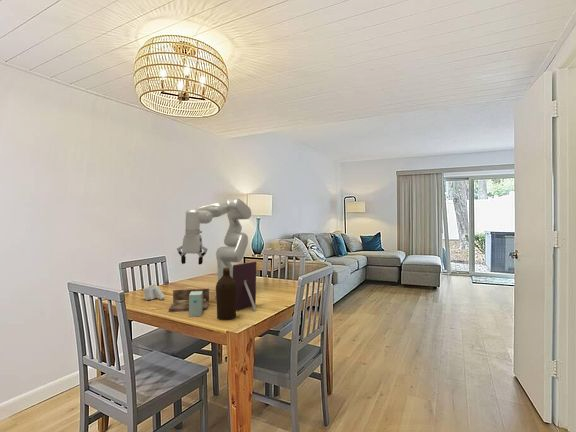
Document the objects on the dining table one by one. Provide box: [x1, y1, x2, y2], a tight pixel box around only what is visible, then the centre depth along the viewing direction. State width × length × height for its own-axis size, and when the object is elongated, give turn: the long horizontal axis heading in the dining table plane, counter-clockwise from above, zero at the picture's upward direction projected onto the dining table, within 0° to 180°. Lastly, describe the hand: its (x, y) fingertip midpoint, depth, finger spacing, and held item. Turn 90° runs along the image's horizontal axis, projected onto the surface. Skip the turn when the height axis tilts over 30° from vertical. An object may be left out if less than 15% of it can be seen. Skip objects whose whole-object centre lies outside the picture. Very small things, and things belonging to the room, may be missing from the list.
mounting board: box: [168, 288, 210, 313], centre depth 180 cm, size 20×14×8 cm
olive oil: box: [215, 267, 237, 321], centre depth 163 cm, size 11×11×25 cm
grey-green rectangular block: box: [188, 291, 204, 317], centre depth 168 cm, size 6×9×11 cm
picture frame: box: [232, 261, 258, 312], centre depth 176 cm, size 17×10×25 cm, turn 141°
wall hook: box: [143, 284, 166, 301], centre depth 198 cm, size 8×10×10 cm
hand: (191, 263), depth 176 cm, fingers open, 9 cm apart
